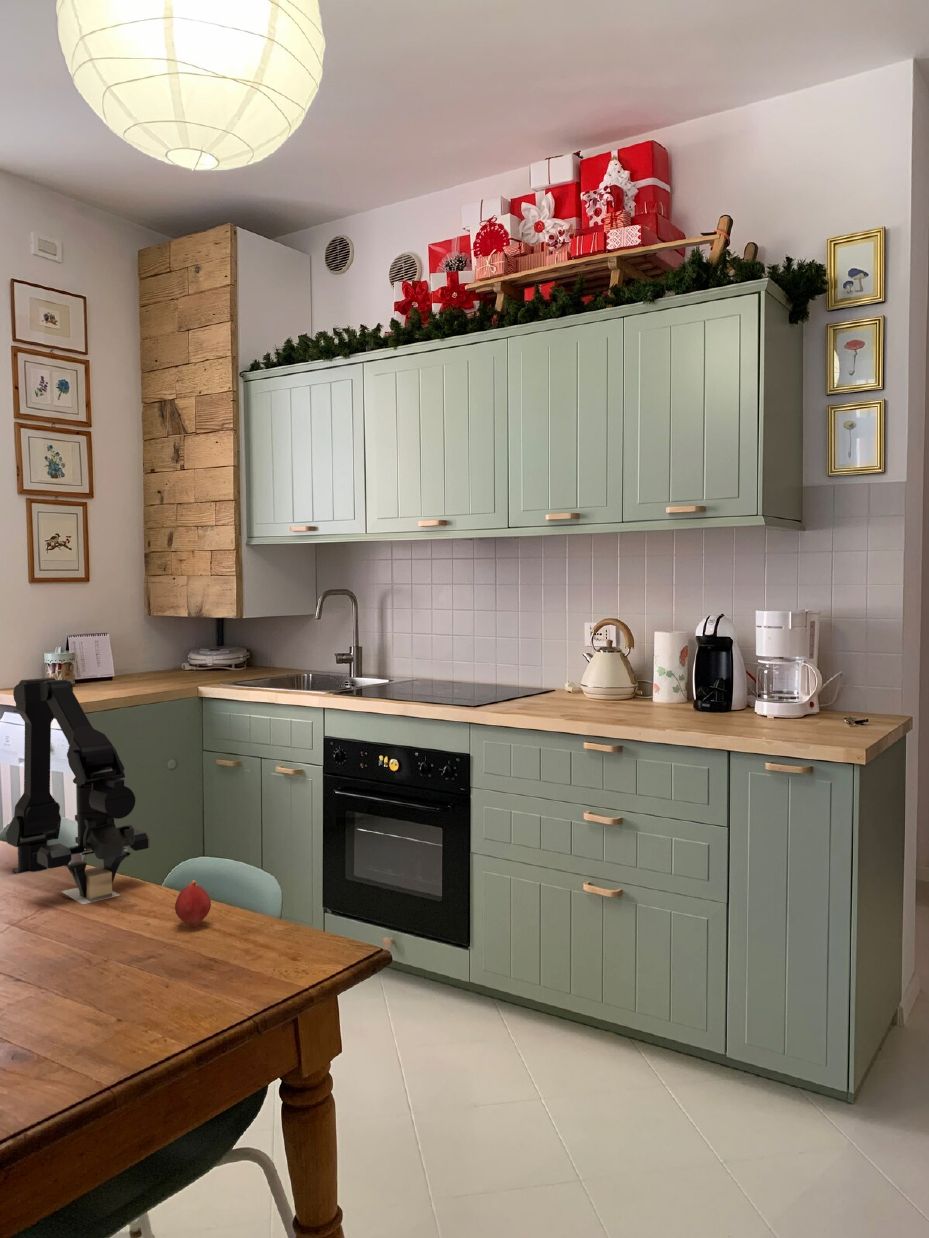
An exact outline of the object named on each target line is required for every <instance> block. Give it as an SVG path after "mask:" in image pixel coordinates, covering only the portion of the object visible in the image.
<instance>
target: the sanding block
mask: <svg viewBox="0 0 929 1238" xmlns="http://www.w3.org/2000/svg"><path fill="white" fill-rule="evenodd" d="M85 877H86V888H87V892H86V897H83V898H85V899H87V900H89V901H95V900H99V899H103V898H107V897H111V898H113V897H112V891H113V884H112V872H111V871H109V870H107V869H104V867H102V866H97V867H92V868H87V869H85ZM80 896H82V895H81V893H80ZM107 899H108V898H107ZM103 900H104V899H103ZM99 901H100V900H99ZM95 902H96V901H95Z"/></svg>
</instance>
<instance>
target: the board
mask: <svg viewBox="0 0 929 1238" xmlns="http://www.w3.org/2000/svg"><path fill="white" fill-rule="evenodd" d="M61 893H63V894H65V895H66V896H67V897H70V898H71V899H73V900H74V901H76V902H78V903H80V905H81V904H82V905H86V904H91V903H95V902H98V901H102V900H106V899H110V898H111V899H112V898H115V897H118V896H121V894H119V893H117V892H116V891H114V890H112V897H107V898H103V899H99V900H95V901H89V900H87V899H85V898H83V897H82V896H80V891H79V889H78V887H75V888H69V889H65V890H61Z"/></svg>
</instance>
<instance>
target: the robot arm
mask: <svg viewBox="0 0 929 1238" xmlns="http://www.w3.org/2000/svg"><path fill="white" fill-rule="evenodd" d="M73 688H74V686H73V684H72V682H71V680H70V679H69V680H67V679H65V678H64V679H56V678H55V677H43V678H31V679H30V678H29V679H21V680H20V681H19V682H18V684H16V685H15V686H14V687H13V695H12V697H13V700H14V702H15V709H16V711H17V713H18V714H19V716H20V717H21V718H22V720H23V722H24V752H23V754H24V758H23V759H24V763H23V765H24V767H23V768H24V769H23V772H24V773H23V794H22V795H21V796H20V798H19V799H18V801H17V803H16V805H15V806H14V815H13V818H12V820H11V822H10V823H9V825H8V828H7V829H6V832H5V836H6V843H7V844H8V845H10V846H12V847H15V848H17V867H13V868H11V871H12V872H13V873H14V874H16V873H17V874H16V875H18V874H23V873H29V872H30V873H31V872H32V873H36V872H41V871H45V870H48V869H55V868H60V867H66V868H67V870H69V873H70V874H71V876H72V878H73V881H74V882H75V884H76V886H77V887H76V888H78V889H79V891H80V893H81V895H82V897H86V892H87V888H86V877H85V870H86V868H87V862H86V861H84V860H83V856H86V855H92V854H94V855H95V857H96V859H98V860H103V868H104V869H107V870H109V871H111V872H112V885H113V884H114V881H115V877H116V875H117V872H118V870H119V867H120V865H121V863H122V862H123V860H124V859H126V858H127V857H130V855H132V853H131V852H129V851H128V847H129V848H130V849H131V850H133V851H135V852H136V851H142V850H146V849H149V848H151V847H150V836H149V835H148V833H147V832H144V831H143V830H139V829H137V828H135V827H133V825H132V824H128V825H123V826H119V827H116V824H115V819H117V820H118V819H123V818H126V817H127V816H129V815H130V814H131V813H132V812H133V810H134V808H135V806H136V796H135V793H134V792H133V791H132V790H133V789H131V788H129V787H128V786H125V778H126V775H125V767H124V764H123V763H122V761H121V758H120V756H119V754H118V752H117V749H116V747H115V746H114V744H113V743H112V742H111V740H110V739H109V738H108V736H107V735H106V734H105V733H103V732H101V731H99V730H97V729H95V728H94V727H93V725H92V723H91V722H90V720H89V718H88V716H87V715H86V713H85V711H84V709H83V707H82V705H81V704H80V702H79V700H78V698H77V697H76V695H75V693H74V689H73ZM54 719H55V721H56V722H57V724H58V726H59V728H60V729H61V731H62V734H63V736H64V737H65V738H66V741H67V743H68V745H69V746H68V750H67V753H66V757H67V760H68V761H67V762H68V766H69V769H70V770H71V771H72V773H73V775H74V778H73V779H72V783H73V784H76V814H75V815H74V821H75V822H77V836H75V838H74V840H75V843H76V844H77V845H74V846H73V845H72V846H66V845H64V844H62V843H54V844H49V841H52V840H58V839H59V836H60V830H61V824H62V816H61V813H60V809H61V806H60V803H59V802H57V801H56V800H55V798H54V797H53V795H52V794H51V750H52V749H51V747H52V746H51V745H52V739H51V738H52V737H51V735H52V734H51V733H52V722H53V721H54Z"/></svg>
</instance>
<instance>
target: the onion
mask: <svg viewBox="0 0 929 1238" xmlns="http://www.w3.org/2000/svg"><path fill="white" fill-rule="evenodd" d="M211 906H212V901H211V897H210V895H209V894H208V892H207V890H206V889H204V888H203V887H201V886H200V885H198V884H197V881H196V880H191V882H190V883H189V884H188V885H187V886H185V888H183V889H182V890H181V891H180V893H179V894H178V895H177V898H176V900H175V904H174V911H175V914H176V915H177V918H179V919H180V921H182V922H183V923H185V924H186V925H188V926H190V927H191V928H195V927H196V928H197V927H198V925H199V924H201V923H202V921H203V920H204V919H206V918H207V916H208V914H209V912H210V911H211Z"/></svg>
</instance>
